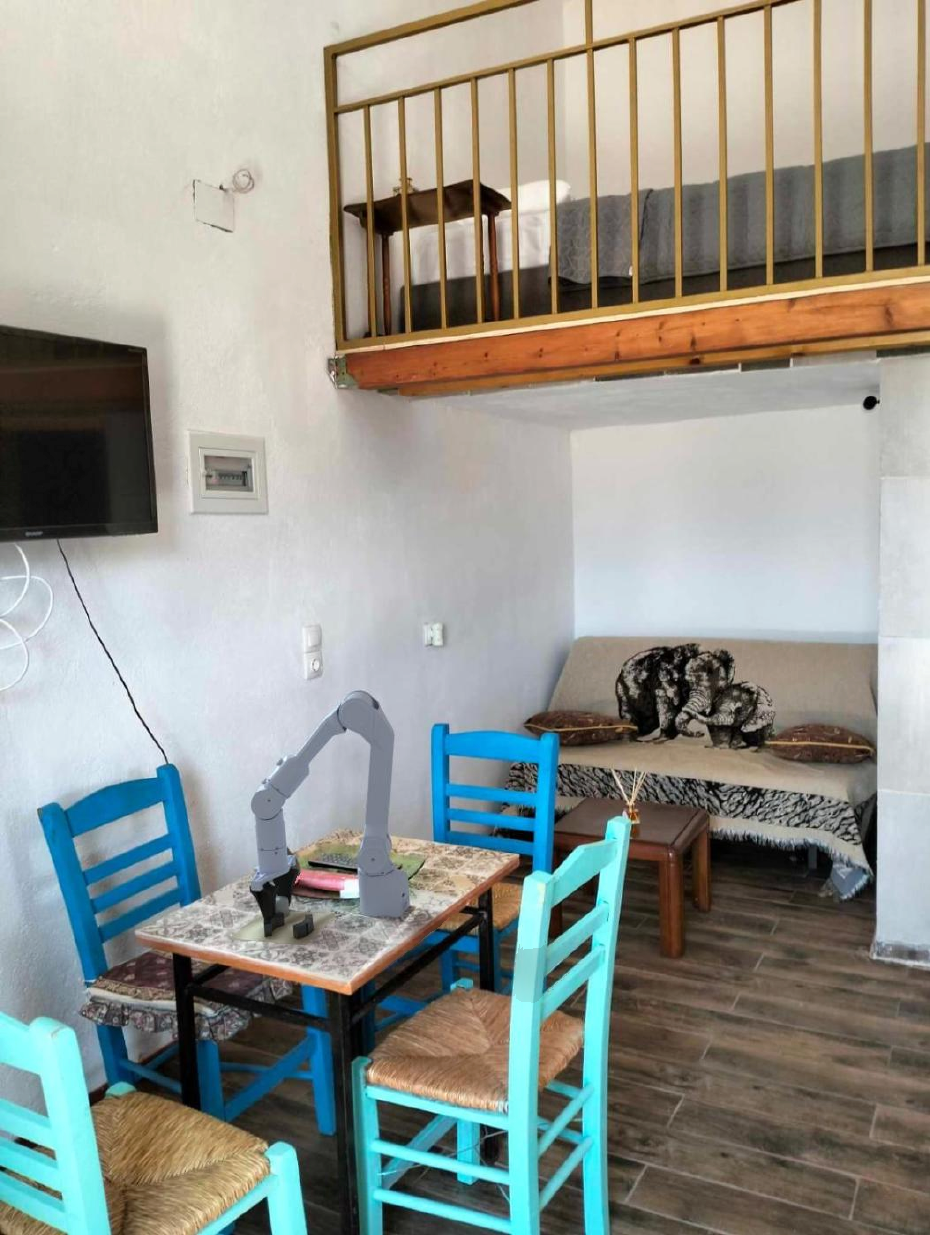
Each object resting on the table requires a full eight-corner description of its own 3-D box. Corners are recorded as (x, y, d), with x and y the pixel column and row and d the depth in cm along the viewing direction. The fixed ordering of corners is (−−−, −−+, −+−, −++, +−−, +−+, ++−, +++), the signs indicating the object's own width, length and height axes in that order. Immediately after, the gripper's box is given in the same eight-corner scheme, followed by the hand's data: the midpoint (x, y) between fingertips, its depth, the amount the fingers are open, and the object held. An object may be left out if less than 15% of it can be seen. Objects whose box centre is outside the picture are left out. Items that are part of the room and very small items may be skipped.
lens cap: (293, 910, 198) (291, 895, 198) (283, 920, 194) (281, 904, 193) (271, 910, 199) (269, 895, 199) (261, 920, 195) (259, 904, 194)
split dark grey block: (318, 926, 190) (317, 914, 190) (303, 940, 184) (302, 927, 184) (275, 922, 193) (274, 910, 193) (259, 936, 187) (258, 924, 187)
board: (338, 918, 195) (338, 914, 195) (305, 948, 182) (305, 944, 182) (266, 913, 200) (265, 909, 200) (229, 942, 187) (228, 938, 187)
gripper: (271, 833, 203) (276, 897, 205) (234, 857, 189) (240, 926, 191) (302, 834, 201) (307, 899, 202) (267, 859, 187) (273, 928, 189)
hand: (277, 912), depth 196 cm, fingers open, 6 cm apart
